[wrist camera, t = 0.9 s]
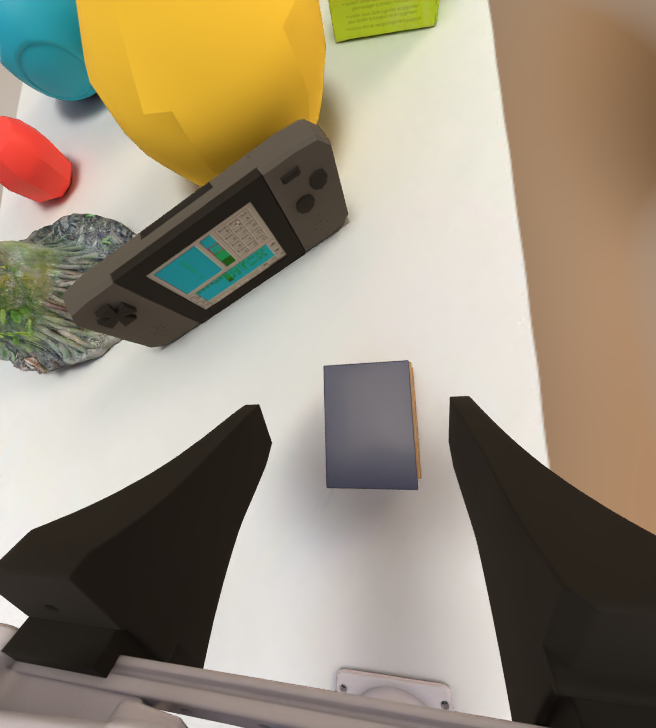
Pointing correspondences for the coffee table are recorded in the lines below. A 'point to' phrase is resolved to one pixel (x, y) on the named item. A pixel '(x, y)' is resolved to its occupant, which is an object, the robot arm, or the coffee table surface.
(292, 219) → the handheld gaming console
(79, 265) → the tree stump
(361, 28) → the box
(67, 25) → the teal rounded piece
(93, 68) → the vase
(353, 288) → the coffee table surface
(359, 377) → the navy rectangular block
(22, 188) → the apple
